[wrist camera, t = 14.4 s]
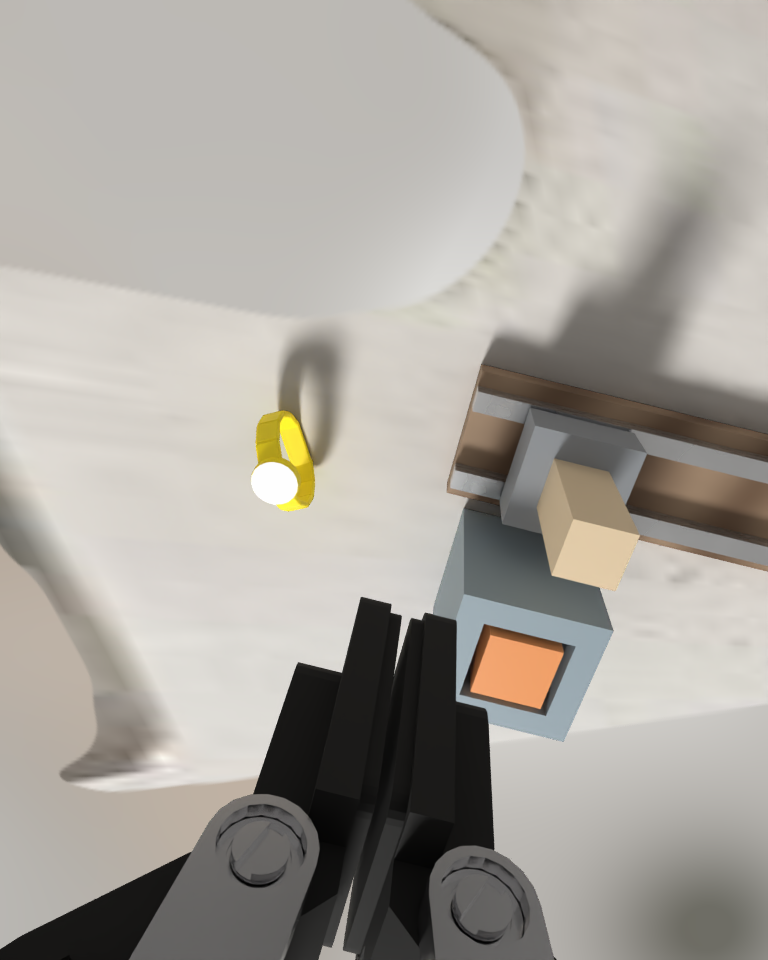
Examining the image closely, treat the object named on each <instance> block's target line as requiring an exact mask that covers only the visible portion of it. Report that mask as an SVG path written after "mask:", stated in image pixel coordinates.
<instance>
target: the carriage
mask: <svg viewBox="0 0 768 960" xmlns="http://www.w3.org/2000/svg"><path fill="white" fill-rule="evenodd" d="M646 455H647V452H646V450H645V449H644V447H643V446H642V444H641V443H640V441H639V440H638V438H637V437H636V435H635V434H634V433H631V432H627V431H623V430H619V429H615V428H611V427H607V426H603V425H599V424H595V423H591V422H586V421H582V420H578V419H574V418H570V417H566V416H562V415H558V414H554V413H550V412H546V411H542V410H538V409H534V408H530V410H529V413H528V416H527V419H526V422H525V425H524V428H523V431H522V434H521V437H520V440H519V443H518V446H517V449H516V452H515V455H514V458H513V461H512V464H511V467H510V470H509V473H508V476H507V479H506V482H505V485H504V488H503V492H502V495H501V498H500V510H501V519H502V524H504V525H508V526H512V527H516V528H520V529H524V530H528V531H532V532H536V533H540V534H543V539H544V543H545V548H546V553H547V557H548V562H549V566H550V571H551V575H552V576H556V577H560V578H564V579H568V580H572V581H576V582H580V583H584V584H588V585H592V586H596V587H600V588H604V589H608V590H612V591H616V589H617V587H618V585H619V582H620V580H621V578H622V575H623V573H624V571H625V569H626V566H627V564H628V562H629V560H630V557H631V555H632V553H633V550H634V548H635V546H636V544H637V541H638V539H639V537H640V534H639V532H638V530H637V528H636V526H635V524H634V522H633V520H632V518H631V516H630V514H629V512H628V510H627V508H626V506H625V505H626V503H627V500H628V498H629V496H630V493H631V491H632V489H633V486H634V484H635V481H636V479H637V477H638V474H639V472H640V469H641V467H642V465H643V462H644V460H645V458H646Z"/></svg>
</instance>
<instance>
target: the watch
mask: <svg viewBox="0 0 768 960" xmlns="http://www.w3.org/2000/svg"><path fill="white" fill-rule="evenodd" d="M280 434H281V437H282V439H283V442H284V445H285V448H286V451H287V454H288V457H289V459H290V462H289V461H288V460H286V459H284V458H282V454H281V448H280V441H279V438H280ZM256 444H257V445H256V451H257V458H258V464H257V466H256V467H255V469H254V471H253V473H252V476H251V484H252V489H253V490H254V492H255V494H256V495H257V496H258V497H259V498H260V499H261V500H263V501H265V502H267V503H270V504H275V505H277V506H278V508H280V509H281V510H284V511H293V510H298V509H303V508H307V507H308V506H309V505H310V503H311V502H312V500H313V497H314V490H315V476H314V467H313V463H312V462H313V460H311V457H310V454H309V451H308V448H307V445H306V442H305V439H304V436H303V433H302V430H301V427H300V424H299V422H298V421H297V419H296V418H295V417H294V415H293V414H292V413H291V412H288V411H283V410H282V411H278V412H274V413H270V414H266V415H263V416H262V418H261V420H260V421H259V423H258V425H257V430H256Z"/></svg>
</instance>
